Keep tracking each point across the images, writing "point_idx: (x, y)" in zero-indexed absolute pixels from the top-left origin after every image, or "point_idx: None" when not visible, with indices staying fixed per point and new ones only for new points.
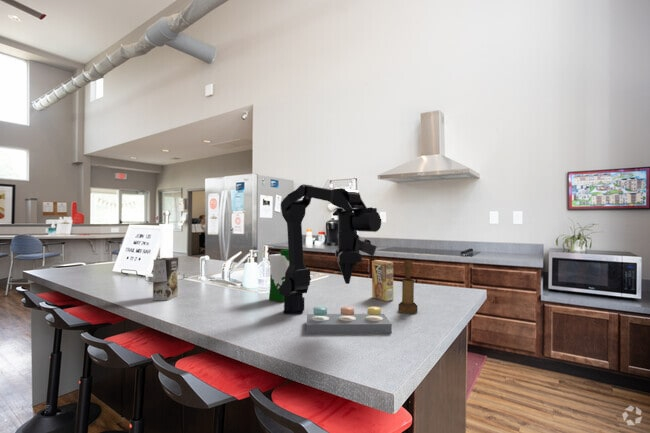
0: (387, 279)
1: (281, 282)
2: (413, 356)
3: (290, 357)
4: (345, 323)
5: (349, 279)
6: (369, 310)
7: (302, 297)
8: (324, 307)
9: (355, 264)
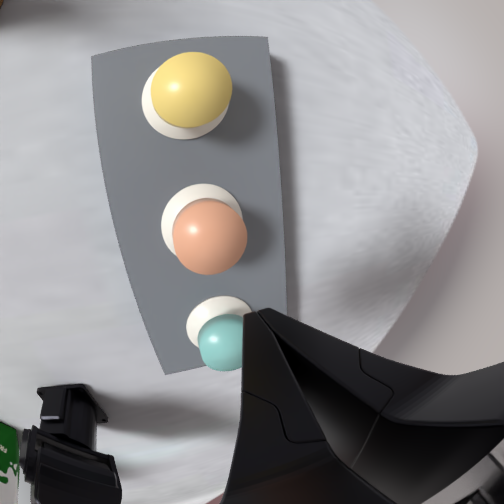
0: None
1: (8, 472)
2: (409, 60)
3: (399, 302)
4: (273, 224)
5: (298, 326)
6: (217, 116)
7: (59, 423)
8: (211, 341)
9: (496, 365)
